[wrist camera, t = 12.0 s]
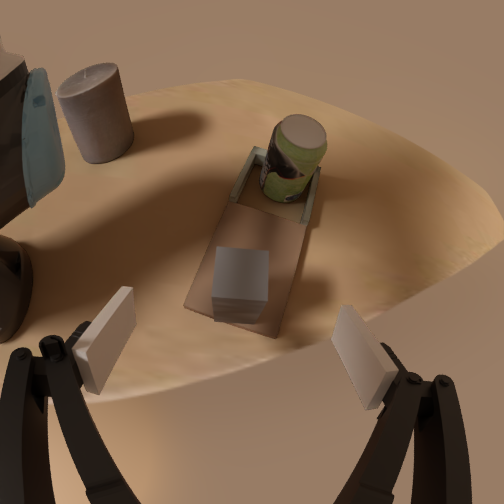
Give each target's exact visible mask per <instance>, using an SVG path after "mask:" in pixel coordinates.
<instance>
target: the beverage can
mask: <svg viewBox="0 0 504 504" xmlns="http://www.w3.org/2000/svg"><path fill="white" fill-rule="evenodd" d="M326 150H327V140H326V132H325V130H324V128H323V126H322V125H321V124H320V123H319V122H317V121H316V120H315V119H313V118H311V117H309V116H306V115H301V114H293V115H289V116H287V117H285V118H284V119H283V120H282V121H281V122H279V123H278V124H277V125H276V126H275V128H274V130H273V133H272V137H271V140H270V143H269V147H268V150H267V154H266V157H265V161H264V164H263V167H262V171H261V174H260V179H259V183H260V187H261V189H262V191H263V192H264V193H265V194H266V195H267V196H268V197H269V198H271V199H272V200H275V201H278V202H291V201H294V200H296V199H297V198H298V197H299V196H300V195H301V194H302V192H303V190H304V188H305V187H306V185H307V183H308V182H309V180H310V178H311V177H312V175H313V173H314V171H315V170H316V168H317V166H318V165H319V163H320V161H321V159H322V158H323V156H324V154H325V152H326Z"/></svg>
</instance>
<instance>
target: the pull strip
mask: <svg viewBox="0 0 504 504" xmlns="http://www.w3.org/2000/svg"><path fill="white" fill-rule="evenodd" d="M266 154H267V150H266V149H263V148H259V147H256V146H254V147H253V149H252V151H251V153H250V155H249V157H248V159H247V161H246V163H245V165H244V167H243V169H242V171H241V173H240V175H239V177H238V179H237V181H236V183H235V185H234V187H233V189H232V192H231V194H230V196H229V202H228V204H227V206H226V209H225V211H224V213H223V215H222V217H221V219H220V222H219V224H218V226H217V228H216V230H215V233H214V235H213V237H212V239H211V241H210V244H209V246H208V248H207V250H206V253H205V255H204V257H203V260H202V262H201V264H200V266H199V269H198V271H197V273H196V276H195V278H194V280H193V283H192V285H191V287H190V290H189V292H188V295H187V297H186V299H185V302H184V304H183V306H184V308H186V309H189V310H191V311H194V312H197V313H199V314H202V315H205V316H208V317H210V318H213V319H214V322H224V323H227V324H230V325H233V326H236V327H239V328H242V329H245V330H248V331H251V332H254V333H257V334H261V335H264V336H267V337H270V338H273V339H275V338H277V335H278V331H279V328H280V325H281V321H282V318H283V314H284V311H285V307H286V304H287V300H288V296H289V293H290V289H291V285H292V282H293V278H294V274H295V271H296V267H297V263H298V259H299V255H300V251H301V247H302V243H303V239H304V235H305V231H306V227H307V225H308V223H309V220H310V215H311V211H312V207H313V202H314V198H315V193H316V189H317V184H318V179H319V175H320V170H321V167H319V166H317V168H316V170H315V171H314V173H313V175H312V177H311V178H310V180H309V181H310V186H309V191H308V195H307V199H306V203H305V207H304V211H303V215H302V218H301V222H300V224H299V223H296V222H294V221H291V220H288V219H285V218H282V217H279V216H276V215H272V214H269V213H266V212H263V211H260V210H257V209H254V208H251V207H248V206H244V205H241V204H238V203H237V200H238V198H239V196H240V194H241V192H242V189H243V187H244V185H245V183H246V181H247V178H248V176H249V174H250V172H251V170H252V168H253V165H254V164H257V165H261V166H263V164H264V161H265V157H266Z"/></svg>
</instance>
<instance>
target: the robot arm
mask: <svg viewBox="0 0 504 504" xmlns="http://www.w3.org/2000/svg"><path fill="white" fill-rule="evenodd" d="M64 174H65V160H64V153H63V148H62V143H61V138H60V133H59V128H58V123H57V118H56V113H55V108H54V103H53V98H52V93H51V88H50V84H49V81H48V77H47V72H46V70H45V69H44V68H38V69H36V68H35V69H33V70H31V72H30V73H29V72H28V70H27V66H26V63H25V60H24V57H23V56H21V55H17V54H13V53H9V52H6V51H5V50H4V49H3V46H2V42H1V37H0V229H1V228H2V227H4V226H5V225H6V224H8V223H9V222H10V221H11V220H13V219H14V218H15V217H17V216H18V215H19V214H21V213H22V212H24V211H25V210H26V209H28V208H29V207H31V208H33V207H34V206H35V205H36V202H38V201H39V200H41V199H42V198H43V197H45V196H46V195H47V194H49V193H50V192H52V191H53V190H55V189H56V188H57V187H58V186H59V185H60V183H61V182H62V180H63V178H64ZM32 282H33V277H32V267H31V262H30V259H29V257H28V254H27V253H26V251H25V250H24V249H23V248H22V247H21V246H20V245H19V244H18V243H17V242H16V241H14V240H13V239H11V238H9V237H6V236H3V235H0V343H2V342H4V341H6V340H8V339H9V338H10V337H11V336H12V335H13V334H14V333H15V332H16V331H17V329H18V328H19V326H20V325H21V323H22V321H23V319H24V317H25V315H26V312H27V309H28V306H29V302H30V298H31V292H32ZM135 326H136V316H135V306H134V294H133V287H126V286H122V287H121V288H120V289H119V290H118V291H117V292H116V294H115V295H114V296H113V297H112V298H111V300H110V301H109V302H108V303H107V304H106V306H105V307H104V308H103V309H102V310H101V312H100V313H99V314H98V315H97V317H96V318H95V319H94V320H93V322H89V321H85V322H84V323H82V324H80V325H79V326H78V327H77V329H76V330H75V332H73V333H72V335H71V336H70V337H69V338H68V340H67V341H66V342H65V343H64V341H63V339H62V338H61V337H60V336H57V335H49V336H46V337H44V338H43V339H42V340H41V341H40V342H39V348H40V351H41V353H42V356H43V357H35V356H33V355H32V352H31V351H30V349H28V348H24V347H22V348H18V349H16V350H14V351H13V352H12V353H11V355H10V359H9V362H8V366H7V370H6V374H5V378H4V383H3V388H2V392H1V398H0V504H56V503H55V498H54V492H53V487H52V480H51V471H50V462H49V449H48V423H47V422H48V421H47V420H48V419H47V417H48V397H52V399H53V403H54V407H55V410H56V414H57V417H58V420H59V423H60V427H61V430H62V432H63V435H64V438H65V441H66V444H67V446H68V449H69V452H70V454H71V457H72V459H73V461H74V464H75V465H76V468H77V471H78V473H79V475H80V477H81V479H82V481H83V483H84V485H85V487H86V495H87V497H88V499H89V501H90V503H91V504H141V503H140V502H139V500H138V499H137V497H136V496H135V495H134V493H133V491H132V490H131V488H130V487H129V485H128V484H127V482H126V481H125V479H124V478H123V476H122V474H121V473H120V471H119V469H118V468H117V466H116V464H115V462H114V461H113V459H112V457H111V455H110V453H109V452H108V450H107V448H106V446H105V444H104V442H103V440H102V438H101V436H100V434H99V432H98V430H97V428H96V425H95V423H94V421H93V419H92V417H91V415H90V412H89V410H88V407H87V405H86V402H85V400H84V397H83V395H82V392H81V390H80V388H81V387H82V385H83V384H84V387H85V389H86V391H87V392H90V393H94V394H97V395H100V393H101V391H102V389H103V387H104V385H105V383H106V381H107V379H108V377H109V375H110V373H111V371H112V369H113V367H114V365H115V363H116V361H117V359H118V358H119V356H120V354H121V352H122V350H123V348H124V346H125V344H126V343H127V341H128V339H129V337H130V335H131V333H132V332H133V330H134V328H135ZM331 341H332V342H333V344H334V347H335V349H336V350H337V352H338V354H339V357H340V359H341V361H342V362H343V365H344V367H345V368H346V371H347V373H348V375H349V377H350V379H351V381H352V383H353V385H354V387H355V389H356V392H357V394H358V396H359V398H360V400H361V402H362V404H363V406H364V408H365V410H370V409H376V408H378V407H379V405H380V403H381V402H382V401H383V402H384V405H385V406H384V408H383V410H382V411H381V413H380V414H379V416H378V417H377V419H378V421H377V424H376V426H375V428H374V431H373V433H372V435H371V437H370V439H369V442H368V443H367V445H366V448H365V449H364V452H363V454H362V455H361V458H360V459H359V461H358V463H357V465H356V467H355V469H354V470H353V472H352V474H351V476H350V478H349V479H348V481H347V482H346V484H345V486H344V487H343V489H342V491H341V492H340V494H339V495H338V497H337V499H336V500H335V502H334V503H333V504H392V503H393V500H394V495H393V494H392V489H393V487H394V485H395V483H396V480H397V477H398V475H399V472H400V469H401V467H402V464H403V461H404V458H405V455H406V452H407V449H408V446H409V442H410V439H411V436H412V432H413V429H414V473H413V487H412V497H411V504H472V491H471V474H470V463H469V455H468V448H467V441H466V435H465V429H464V424H463V419H462V414H461V409H460V405H459V401H458V397H457V393H456V389H455V385H454V382H453V381H452V379H451V378H450V377H448V376H446V375H437V376H436V377H435V379H434V381H433V382H430V381H423V379H422V378H421V377H420V376H419V375H418V374H416V373H413V372H408V371H407V370H406V369H405V367H404V366H403V364H401V362H400V360H399V359H397V356H396V355H395V354H394V352H393V351H392V350H391V348H390V347H389V346H387V345H386V344H385V343H379V341H378V340H377V339H376V337H375V336H374V335H373V333H372V332H371V330H370V329H369V328H368V326H367V325H366V324H365V322H364V321H363V320H362V318H361V317H360V316H359V314H358V313H357V312H356V310H355V309H354V308H353V306H352V305H341V308H340V311H339V315H338V318H337V322H336V325H335V328H334V332H333V335H332V338H331Z"/></svg>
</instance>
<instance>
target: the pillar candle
mask: <svg viewBox="0 0 504 504" xmlns="http://www.w3.org/2000/svg"><path fill="white" fill-rule="evenodd" d="M56 96H57V97H58V100H59V103H60V105H61V108H62V111H63V113H64V116H65V118H66V121H67V123H68V125H69V128H70V130H71V132H72V135H73V137H74V140H75V142H76V144H77V146H78V148H79V150H80V152H81V155H82V157H83V158H84V160H85V161H86V162H88V163H91V164H93V163H105V162H109V161H111V160H114V159H115V158H117V157H119V156H120V155H122V154H123V153H124V152H125V151H126V150H127V149H128V148H129V147H130V145H131V144H132V142H133V138H134V132H133V129H132V124H131V120H130V117H129V113H128V109H127V104H126V101H125V97H124V93H123V88H122V83H121V80H120V75H119V70H118V67H117V65H116V64H114V63H102V64H96V65H93V66H90V67H87V68H85V69H83V70H81V71H79V72H77V73H75V74H74V75H72V76H70V77H69V78H68V79H66V80H65V81H64V82H63V83H62V84H61V85H60V86H59V88H58V90H57V91H56Z"/></svg>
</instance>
